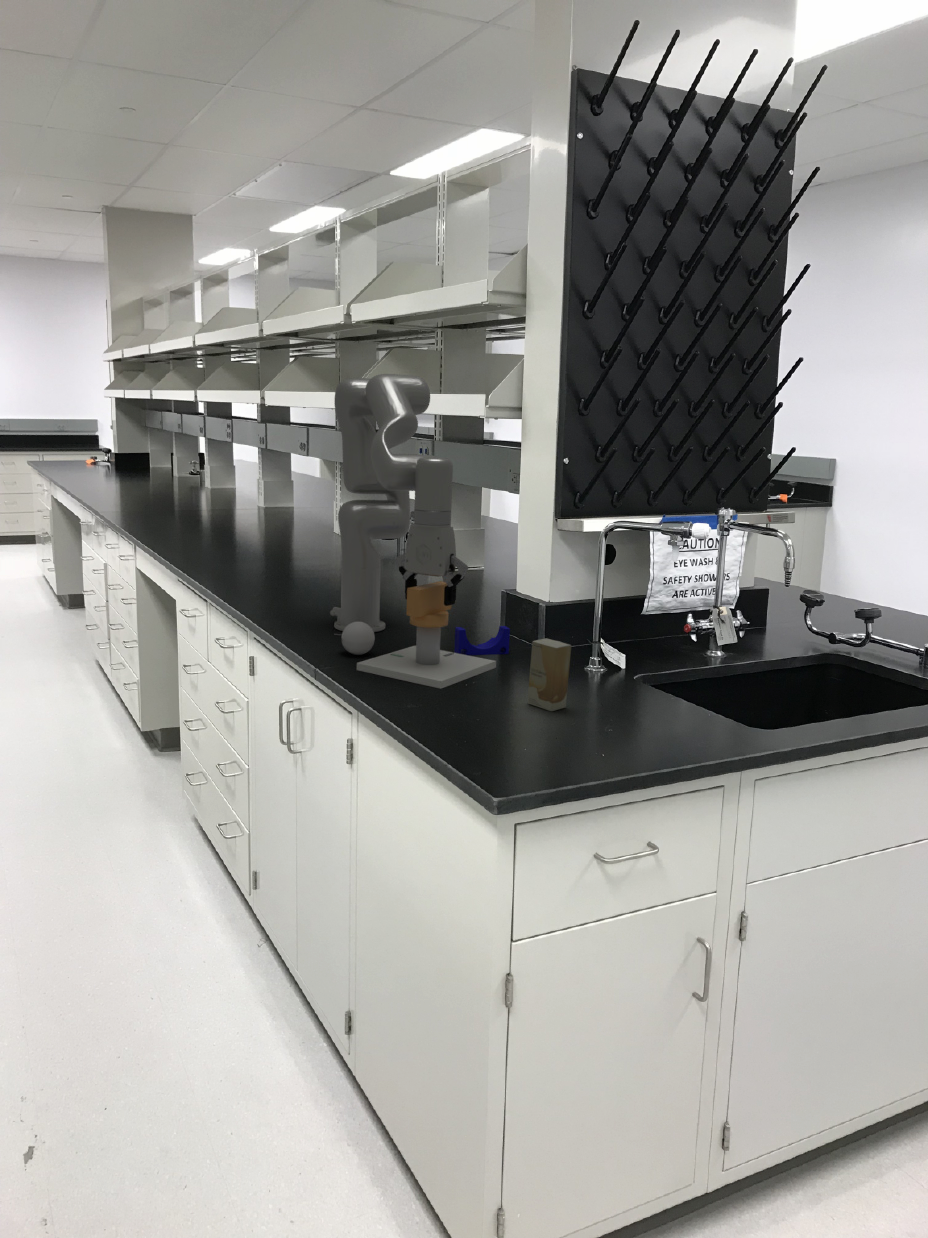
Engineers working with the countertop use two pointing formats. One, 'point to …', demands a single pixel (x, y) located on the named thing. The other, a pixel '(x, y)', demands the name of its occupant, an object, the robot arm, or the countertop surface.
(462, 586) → the countertop surface
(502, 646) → the cable clip
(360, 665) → the coupling base
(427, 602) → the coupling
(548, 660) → the skincare box
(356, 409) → the robot arm
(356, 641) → the white ball
